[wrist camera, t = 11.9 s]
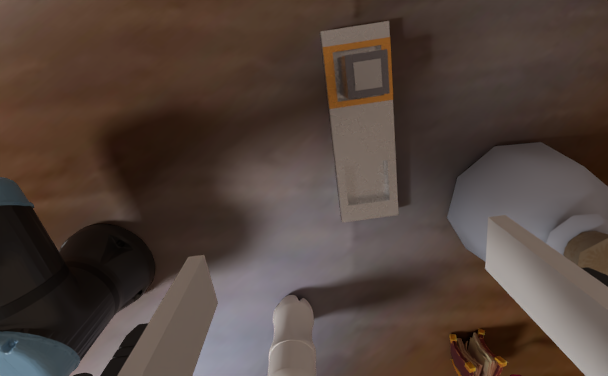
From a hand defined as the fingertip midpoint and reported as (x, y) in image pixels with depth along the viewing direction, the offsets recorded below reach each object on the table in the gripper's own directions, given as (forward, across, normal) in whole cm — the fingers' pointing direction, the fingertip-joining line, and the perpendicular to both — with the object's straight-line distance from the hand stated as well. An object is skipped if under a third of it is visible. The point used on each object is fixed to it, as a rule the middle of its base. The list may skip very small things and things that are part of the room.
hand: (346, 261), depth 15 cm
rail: (+37, +7, -1) cm, 37 cm away
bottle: (+37, +30, -16) cm, 50 cm away
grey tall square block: (+36, +7, +7) cm, 37 cm away
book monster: (+37, +26, -47) cm, 65 cm away
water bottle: (+37, -8, -32) cm, 49 cm away
